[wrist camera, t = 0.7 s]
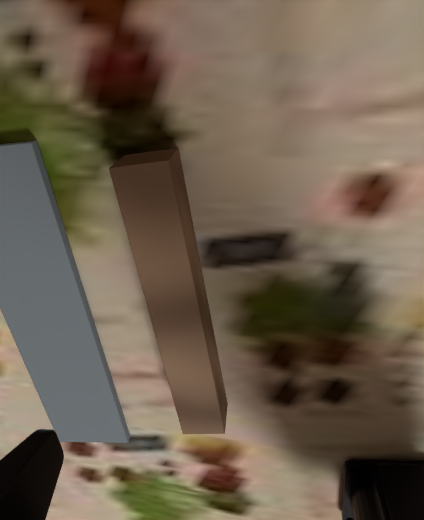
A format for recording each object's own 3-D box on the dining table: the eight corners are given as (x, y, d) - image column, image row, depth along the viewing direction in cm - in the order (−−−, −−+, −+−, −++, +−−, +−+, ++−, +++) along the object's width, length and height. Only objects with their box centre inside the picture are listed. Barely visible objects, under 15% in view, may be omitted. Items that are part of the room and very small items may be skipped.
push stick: (227, 399, 25) (224, 433, 23) (189, 400, 26) (182, 433, 24) (179, 146, 18) (168, 160, 16) (127, 153, 18) (109, 168, 16)
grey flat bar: (129, 436, 27) (127, 442, 27) (62, 435, 28) (59, 441, 28) (36, 140, 18) (31, 142, 18) (-61, 150, 19) (-69, 153, 18)
